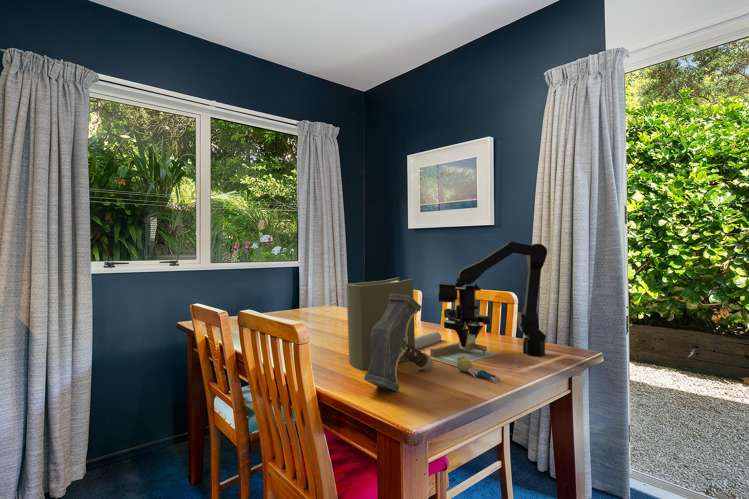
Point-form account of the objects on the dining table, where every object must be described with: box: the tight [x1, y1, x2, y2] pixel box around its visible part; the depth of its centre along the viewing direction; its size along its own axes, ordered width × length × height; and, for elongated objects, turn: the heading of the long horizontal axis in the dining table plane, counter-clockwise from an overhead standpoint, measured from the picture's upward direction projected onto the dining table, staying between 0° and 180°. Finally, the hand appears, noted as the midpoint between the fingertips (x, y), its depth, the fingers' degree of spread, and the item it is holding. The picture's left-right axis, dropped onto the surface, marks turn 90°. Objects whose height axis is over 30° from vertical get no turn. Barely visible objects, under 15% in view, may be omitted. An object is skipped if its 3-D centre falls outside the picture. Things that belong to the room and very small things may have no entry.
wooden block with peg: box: [458, 333, 488, 353], centre depth 147 cm, size 10×4×5 cm, turn 37°
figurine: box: [456, 356, 501, 384], centre depth 126 cm, size 6×4×15 cm
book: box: [346, 276, 416, 371], centre depth 141 cm, size 22×9×28 cm, turn 121°
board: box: [428, 342, 499, 369], centre depth 146 cm, size 14×22×3 cm, turn 127°
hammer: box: [363, 294, 434, 393], centre depth 122 cm, size 27×9×30 cm
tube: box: [415, 331, 442, 350], centre depth 160 cm, size 5×5×25 cm
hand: (467, 345), depth 150 cm, fingers closed on wooden block with peg, 4 cm apart
